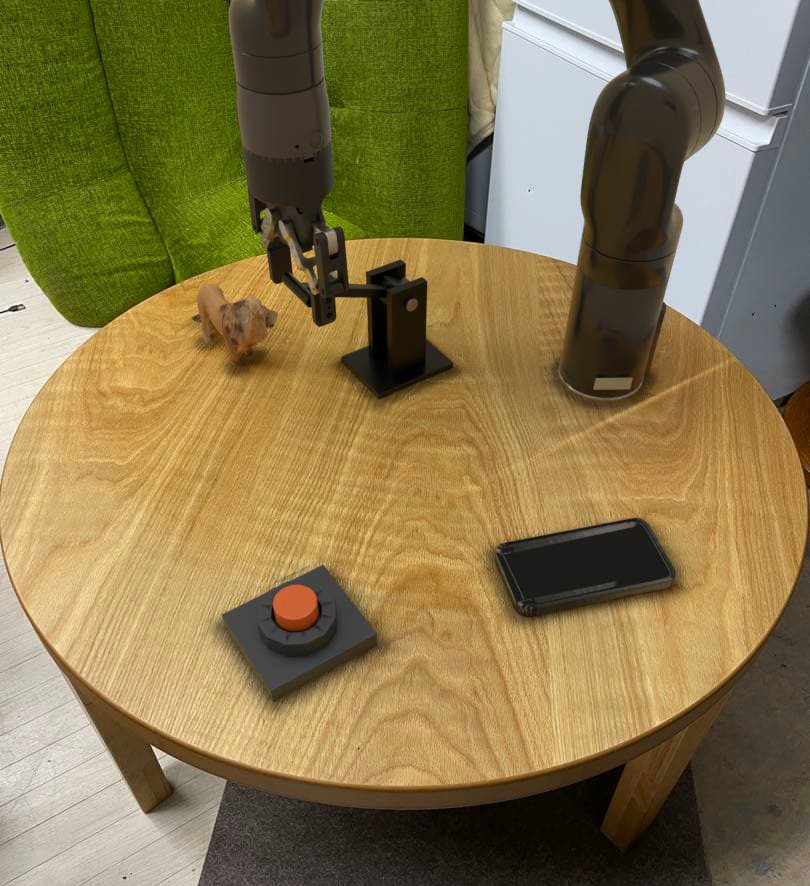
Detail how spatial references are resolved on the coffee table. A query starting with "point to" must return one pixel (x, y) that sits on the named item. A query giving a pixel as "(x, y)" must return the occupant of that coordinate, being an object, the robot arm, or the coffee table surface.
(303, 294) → the switch lever
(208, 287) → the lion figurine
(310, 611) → the button
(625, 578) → the phone
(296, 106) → the robot arm
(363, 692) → the coffee table surface
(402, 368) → the switch bracket
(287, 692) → the control block
